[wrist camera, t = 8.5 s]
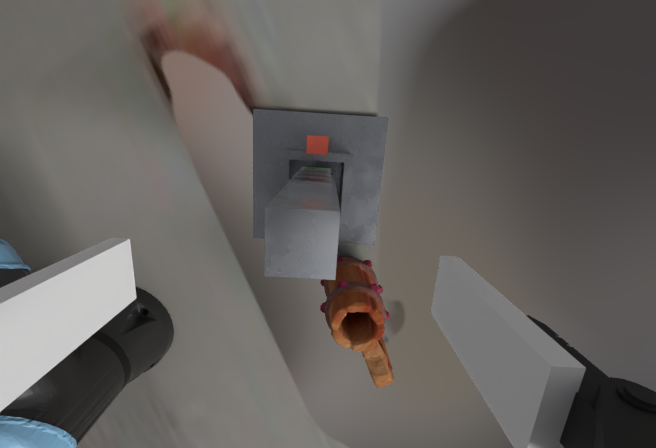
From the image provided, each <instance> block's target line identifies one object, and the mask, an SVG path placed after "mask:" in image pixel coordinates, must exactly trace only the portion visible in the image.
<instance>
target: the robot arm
mask: <svg viewBox="0 0 656 448" xmlns="http://www.w3.org/2000/svg"><path fill="white" fill-rule="evenodd" d="M30 270H31V268H30V267H29V266H28V265H25V264H24V262H23V261H22V259H21V258H20V257H19V255H18V254H17V252H16V251H15V250H14V248H13V247H12V246H11V244H9V243H8V242H7V241H5V240H3V239H0V448H76V446H77V445H78V443H79V442H80V441H81V440H82V438H83V437H84V436H85V435H86V433H87V432H88V431H89V430H90V428H91V427H92V426H93V425H94V424H95V422H96V421H97V420H98V419H99V417H100V416H101V415H102V414H103V412H104V411H105V410H106V409H107V408H108V406H109V405H110V404H111V403H112V401H113V400H114V399H115V398H116V396H117V395H118V394H119V393H120V391H121V390H122V389H123V388H124V387H125V385H126V384H128V383H129V382H131V381H132V380H134V379H135V378H137V377H138V376H139V375H141V374H142V373H143V372H146V371H147V370H149V369H151V368H152V367H154V366H155V365H156V364H157V363H158V362H159V361H160V360H161V359H162V358H163V356H164V355H165V354H166V352H167V351H168V350H169V348H170V346H171V344H172V341H173V335H174V330H173V324H172V320H171V318H170V316H169V314H168V312H167V310H166V309H165V308H164V306H163V305H162V304H161V303H160V302H159V301H158V300H157V299H156V298H154V297H153V296H151V295H150V294H148V293H147V292H145V291H143V290H140V289H137V288H135V280H134V271H133V263H132V254H131V246H130V239H124V238H110V239H107V240H105V241H103V242H101V243H99V244H96V245H94V246H92V247H90V248H87V249H85V250H83V251H81V252H79V253H76V254H74V255H72V256H70V257H68V258H65V259H63V260H61V261H59V262H57V263H54V264H52V265H50V266H48V267H45V268H43V269H41V270H39V271H37V272H34V273H31V272H30ZM431 314H432V316H433V317H434V319H435V320H436V322H437V324H438V325H439V327H440V329H441V330H442V332H443V333H444V335H445V337H446V338H447V340H448V342H449V343H450V345H451V346H452V348H453V350H454V351H455V353H456V355H457V356H458V358H459V359H460V361H461V363H462V364H463V366H464V367H465V369H466V371H467V372H468V374H469V376H470V377H471V379H472V381H473V382H474V384H475V385H476V387H477V389H478V390H479V392H480V394H481V395H482V397H483V398H484V400H485V402H486V403H487V405H488V407H489V408H490V410H491V411H492V413H493V415H494V416H495V418H496V419H497V421H498V423H499V424H500V426H501V428H502V429H503V431H504V432H505V434H506V436H507V437H508V439H509V441H510V442H511V444H512V445H513V447H514V448H559V447H560V444H562V445H563V446H564V448H656V392H654V391H653V390H650V389H648V388H646V387H644V386H642V385H639V384H637V383H634V382H631V381H627V380H625V379H620V378H612V377H610V378H609V377H608V376H607V375H605V374H604V373H603V372H602V371H601V370H599V369H598V368H597V367H596V366H594V365H593V364H592V363H591V362H590V361H588V360H587V359H586V358H585V357H584V356H583V355H581V354H580V353H579V352H578V351H577V350H575V349H574V348H573V347H570V345H569V344H568V343H567V342H566V341H565V340H563V339H562V338H559V335H557V334H556V333H555V332H554V331H553V330H551V329H550V328H549V327H548V326H547V325H545V324H543V323H541V322H540V321H538V320H536V319H534V318H532V317H531V316H529V315H528V316H527V315H525V314H523V313H522V312H521V311H520V310H519V309H517V308H516V307H515V306H514V305H513V304H512V303H511V302H510V301H508V300H507V299H506V298H505V297H504V296H502V294H500V293H499V292H498V291H497V290H496V289H495V288H493V287H492V286H491V285H490V284H489V283H488V282H487V281H485V280H484V279H483V278H482V277H481V276H480V275H478V274H477V273H476V272H475V271H474V270H473V269H472V268H470V267H469V266H468V265H467V264H466V263H465V262H463V261H462V260H461V259H460V258H459V257H455V256H454V257H453V256H440V261H439V267H438V273H437V279H436V285H435V290H434V296H433V303H432V308H431Z"/></svg>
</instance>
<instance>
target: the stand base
mask: <svg viewBox="0 0 656 448" xmlns="http://www.w3.org/2000/svg"><path fill="white" fill-rule="evenodd" d="M387 124H388V118H385V117H371V116H356V115H340V114H325V113H309V112H294V111H279V110H263V109H253V158H254V159H253V160H254V161H253V171H254V172H253V181H254V182H253V184H254V185H253V186H254V238H265V206H266V205H267V204H268V203H269V202H270V201H271V200H272V199H273V198H274V197H275V196H276V195H277V194H278V193H279V192H280V190H281V189H282V188H283V187H284V186H285V185H286V184H287V183H288V180H291V179H292V176H293V175H295V174H296V172H298V171H299V169H301V167H302V166H305V167H321V168H331V169H330V171H331V173H334V178H335V184H336V190H337V195H338V201H339V206H340V224H339V237H338V243H353V244H370V245H375V235H376V226H377V217H378V208H379V198H380V189H381V180H382V170H383V161H384V152H385V142H386V133H387Z"/></svg>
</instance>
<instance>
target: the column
mask: <svg viewBox="0 0 656 448" xmlns="http://www.w3.org/2000/svg"><path fill="white" fill-rule="evenodd" d="M330 169H331V168H321V167H305V166H302V167H301V169H299V171H298V172H296V174H295V175H293V176H292V179H291V180H288V183H287V184H286V185H285V186H284V187H283V188H282V189H281V190H280V192H279V193H278V194H277V195H276V196H275V197H274V198H273V199H272V200H271V201H270V202H269V203H268V204H267V205H266V206H265V276H271V277H289V278H307V279H325V280H335V278H336V264H337V251H338V237H339V224H340V206H339V201H338V195H337V190H336V184H335V178H334V173H331V171H330Z"/></svg>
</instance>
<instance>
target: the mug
mask: <svg viewBox="0 0 656 448" xmlns="http://www.w3.org/2000/svg"><path fill="white" fill-rule="evenodd" d="M371 267H372V262H371V261H370V260H365V261H361V260H358V259H356V258H352V257H343V258H342V257H337V264H336V278H335V280H325V279H322V280H321V284H322V286H324V288H325V293H326V296H327V300H326V302H325V303H323V304H322V305H321V311H322V312H324V313H325V316H326V321H327V323H328V326H329V328H330V329H331V335H332V336H333V338H334V340H335V341H336V342H337V343H338V344H339V345H340V346H341V347H344V348H346V347H350V348H351V349H352V350H353V351H361V352H362V354H363V357H364V358H365V361H366V363H367V366H368V369H369V371H370V374H371V377H372V379H373V381H374V383H375V385H376V386H377V387H382V386H386V385H388V384H390V383H392V382H393V381H394V375H393V372H392V366H391V363H390V360H389V356H388V353H387V350H386V347H385V344H384V341H383V339H382V336H383V333H384V330H385V327H384V322H385V320H387V319H388V318H389V317H390V315H389V313H388V312H387V311H386V310H385V307H384V304H383V301H382V298H381V296H380V293H382V291H383V289H382V287H381V286H380V285H378V282H377V279H376V276H375V273H374V272H373V270H372V269H371Z"/></svg>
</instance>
